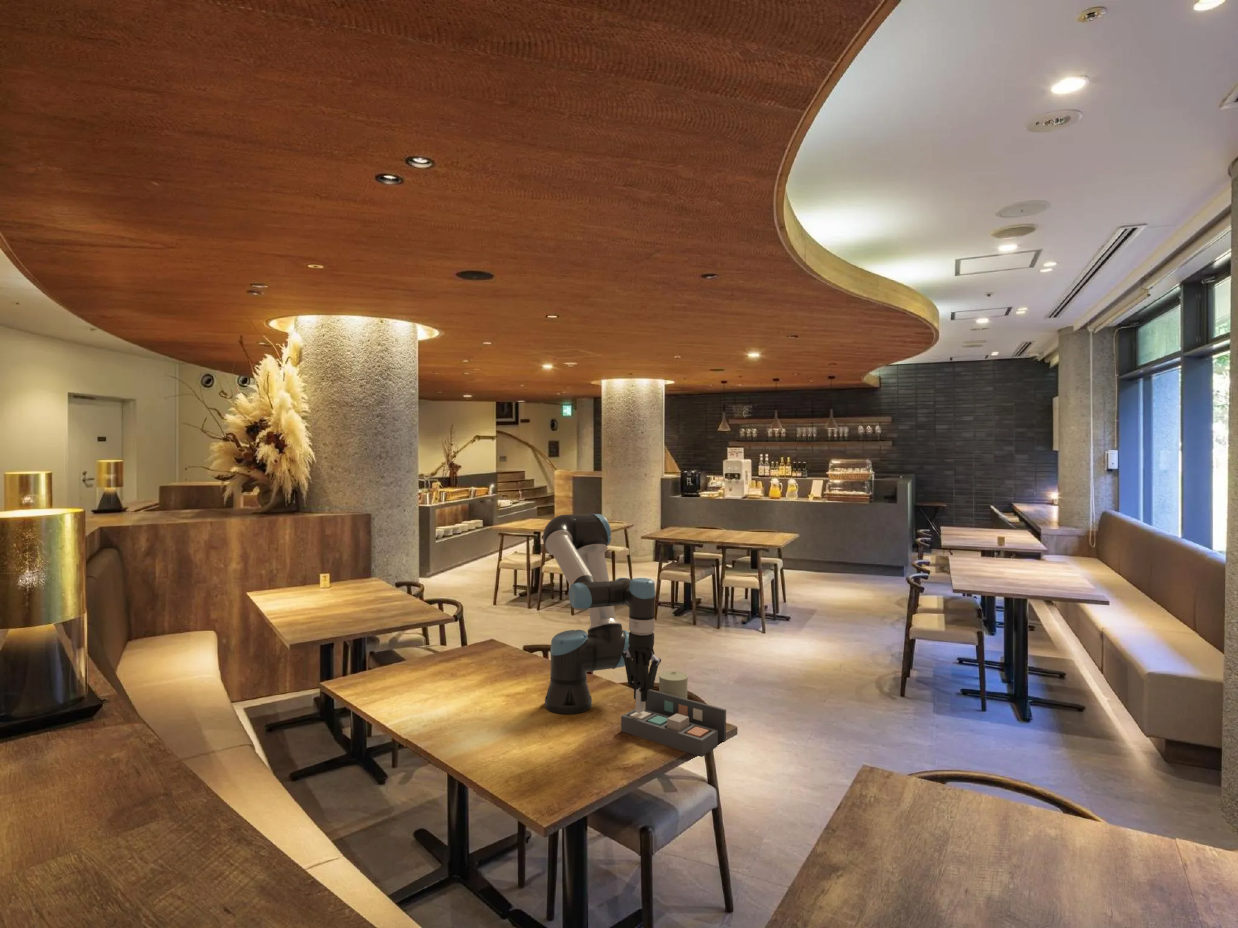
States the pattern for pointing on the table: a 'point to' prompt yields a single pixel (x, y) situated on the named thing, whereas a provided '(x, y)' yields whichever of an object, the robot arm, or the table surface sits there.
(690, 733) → the key
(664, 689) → the can
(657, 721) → the key
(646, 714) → the key
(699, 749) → the key frame
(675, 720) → the grey block
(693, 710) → the screen
